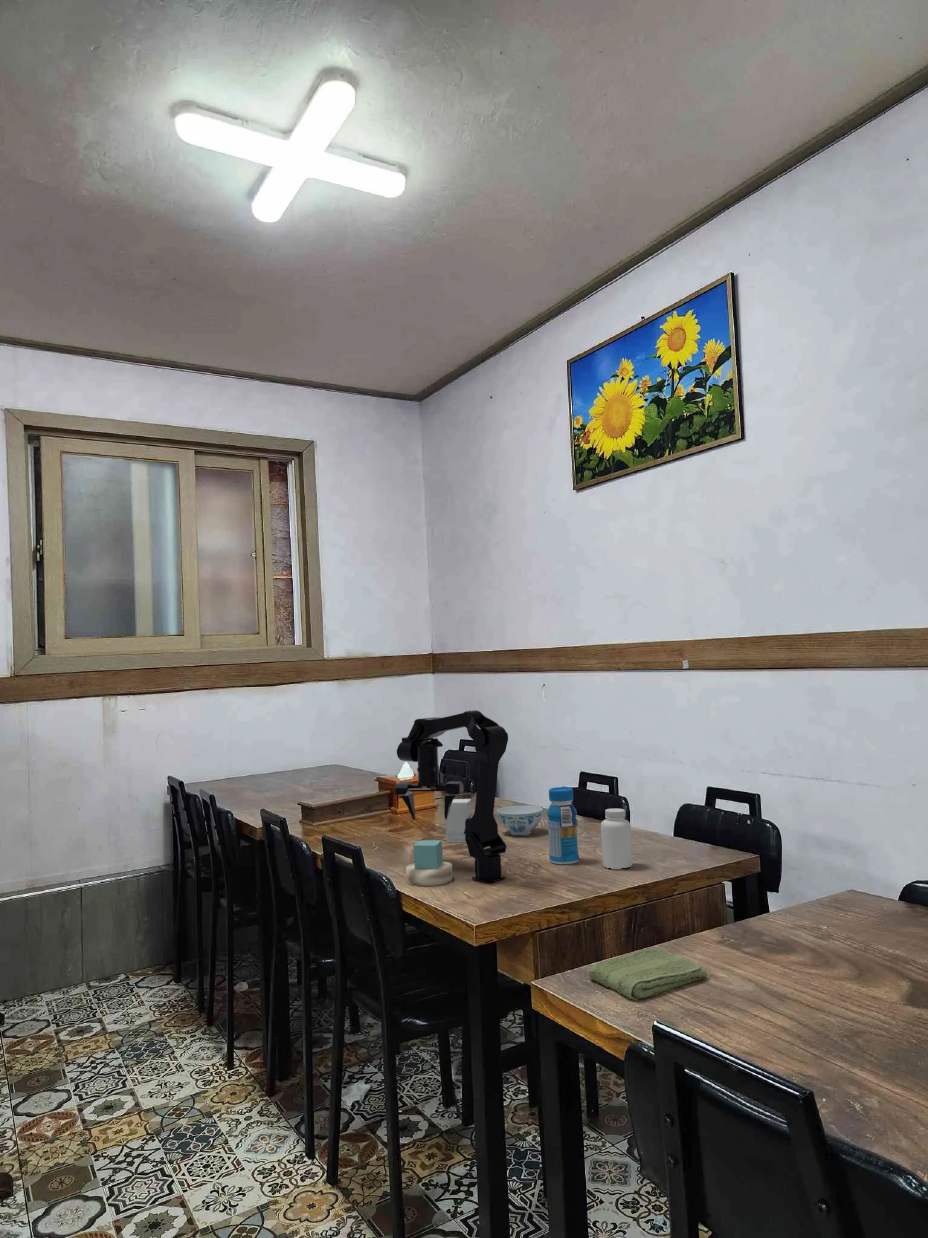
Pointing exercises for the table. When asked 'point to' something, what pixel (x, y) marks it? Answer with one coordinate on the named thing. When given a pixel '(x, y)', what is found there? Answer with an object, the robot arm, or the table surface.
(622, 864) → the pill bottle
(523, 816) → the chinaware
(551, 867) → the table surface
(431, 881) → the birch riser
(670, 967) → the washcloth
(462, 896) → the table surface
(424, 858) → the teal block
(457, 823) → the supplement box
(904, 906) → the table surface
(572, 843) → the beverage bottle
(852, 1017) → the table surface
